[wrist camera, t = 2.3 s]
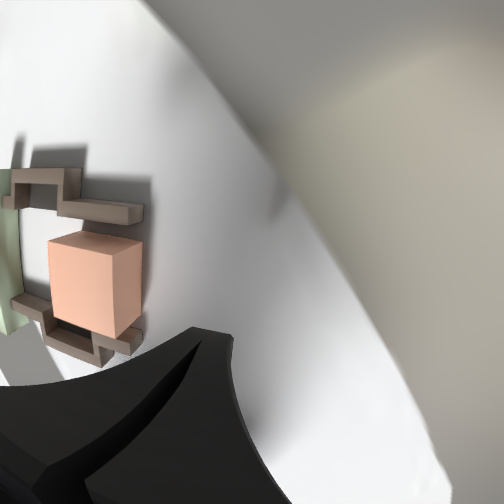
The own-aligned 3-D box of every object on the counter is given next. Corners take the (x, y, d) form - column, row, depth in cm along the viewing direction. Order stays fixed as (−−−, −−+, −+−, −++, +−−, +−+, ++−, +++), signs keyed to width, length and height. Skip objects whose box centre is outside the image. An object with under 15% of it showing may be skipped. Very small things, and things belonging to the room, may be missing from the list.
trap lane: (144, 364, 16) (125, 389, 14) (20, 317, 17) (-2, 330, 15) (146, 171, 13) (119, 170, 11) (10, 168, 14) (-18, 170, 12)
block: (142, 313, 15) (115, 338, 12) (85, 296, 16) (54, 316, 13) (144, 241, 14) (112, 255, 11) (83, 229, 15) (47, 241, 12)
